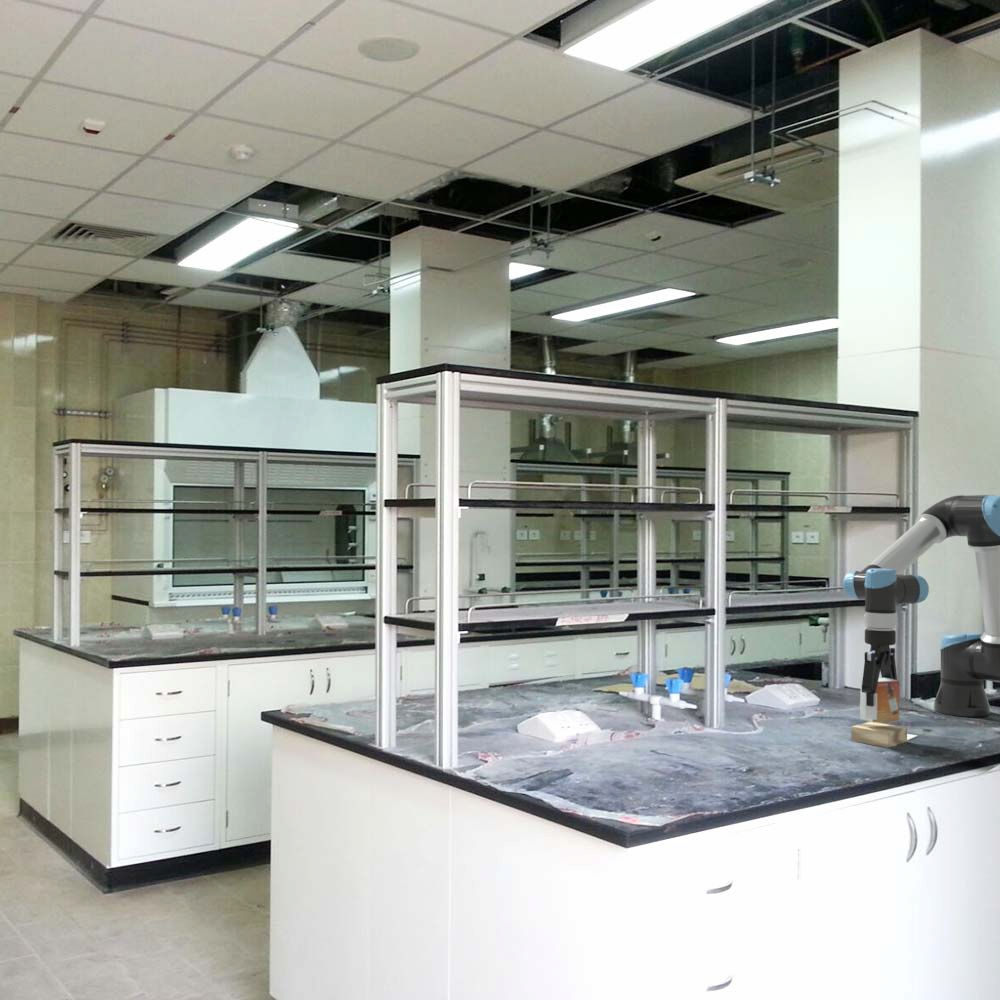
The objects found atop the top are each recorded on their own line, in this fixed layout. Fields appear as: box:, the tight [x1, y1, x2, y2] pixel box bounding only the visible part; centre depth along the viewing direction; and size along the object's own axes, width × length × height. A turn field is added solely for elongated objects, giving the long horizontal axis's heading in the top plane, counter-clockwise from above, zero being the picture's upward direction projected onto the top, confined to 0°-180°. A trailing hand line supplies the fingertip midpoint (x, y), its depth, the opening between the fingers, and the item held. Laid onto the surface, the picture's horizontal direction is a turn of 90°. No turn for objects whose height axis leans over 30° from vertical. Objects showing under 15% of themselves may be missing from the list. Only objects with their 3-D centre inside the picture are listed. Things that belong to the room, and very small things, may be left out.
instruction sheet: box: [907, 733, 919, 741], centre depth 276 cm, size 7×10×1 cm
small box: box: [859, 677, 900, 723], centre depth 269 cm, size 8×6×10 cm
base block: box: [850, 721, 908, 748], centre depth 269 cm, size 10×10×4 cm
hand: (879, 715), depth 269 cm, fingers closed on small box, 9 cm apart
